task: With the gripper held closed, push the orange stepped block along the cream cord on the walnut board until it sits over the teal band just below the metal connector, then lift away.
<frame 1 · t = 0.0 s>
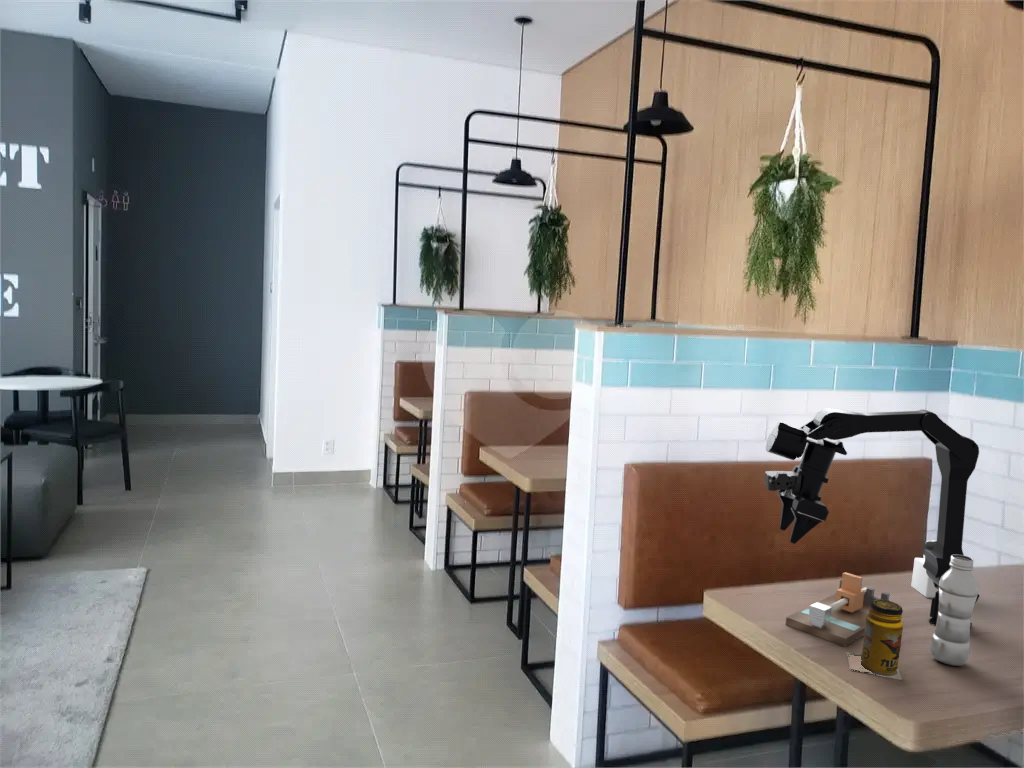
hand: (787, 536, 166), 15 cm above the table, tool pointing down, fingers open, 9 cm apart
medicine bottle: (933, 593, 183), on the table
plastic bottle: (948, 662, 147), on the table
cable comb: (863, 594, 170), on the cord board, point 3 cm above the table
condiment: (873, 667, 143), on the table
orange stepped block: (850, 591, 164), point 6 cm above the table, slide at 0.0 cm
cord: (845, 600, 163), point 3 cm above the table
connector: (819, 616, 155), on the cord board, point 4 cm above the table
cord board: (840, 620, 163), on the table
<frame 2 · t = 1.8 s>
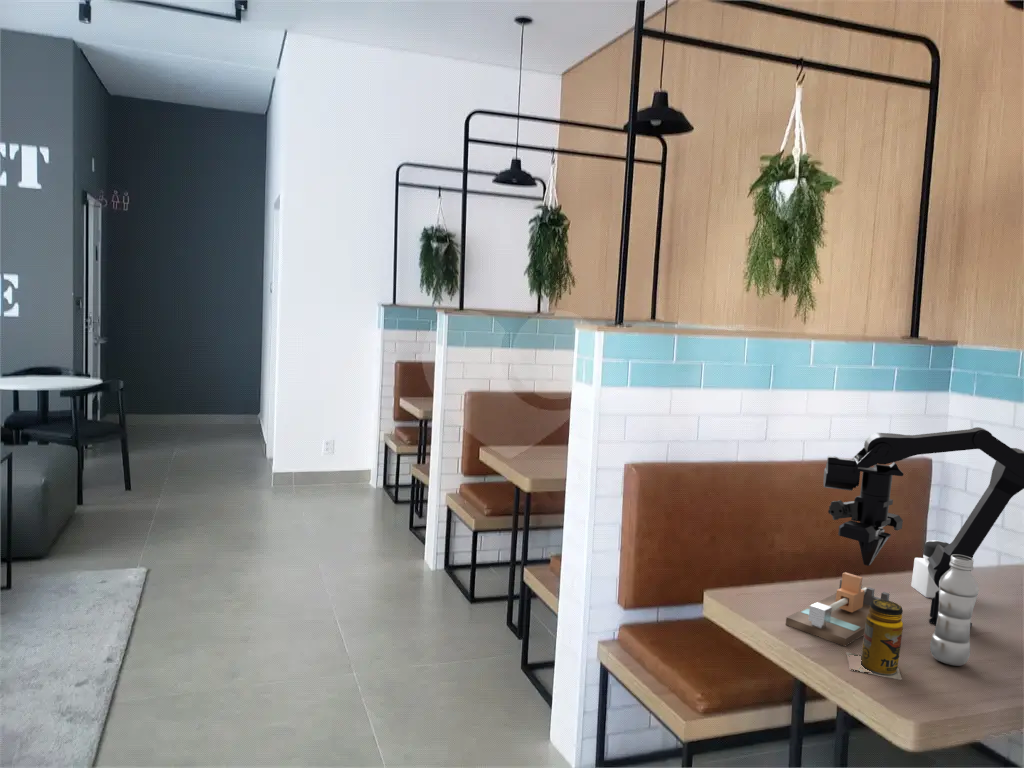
hand: (866, 565, 168), 10 cm above the table, tool pointing down, fingers closed
nothing on the table moved.
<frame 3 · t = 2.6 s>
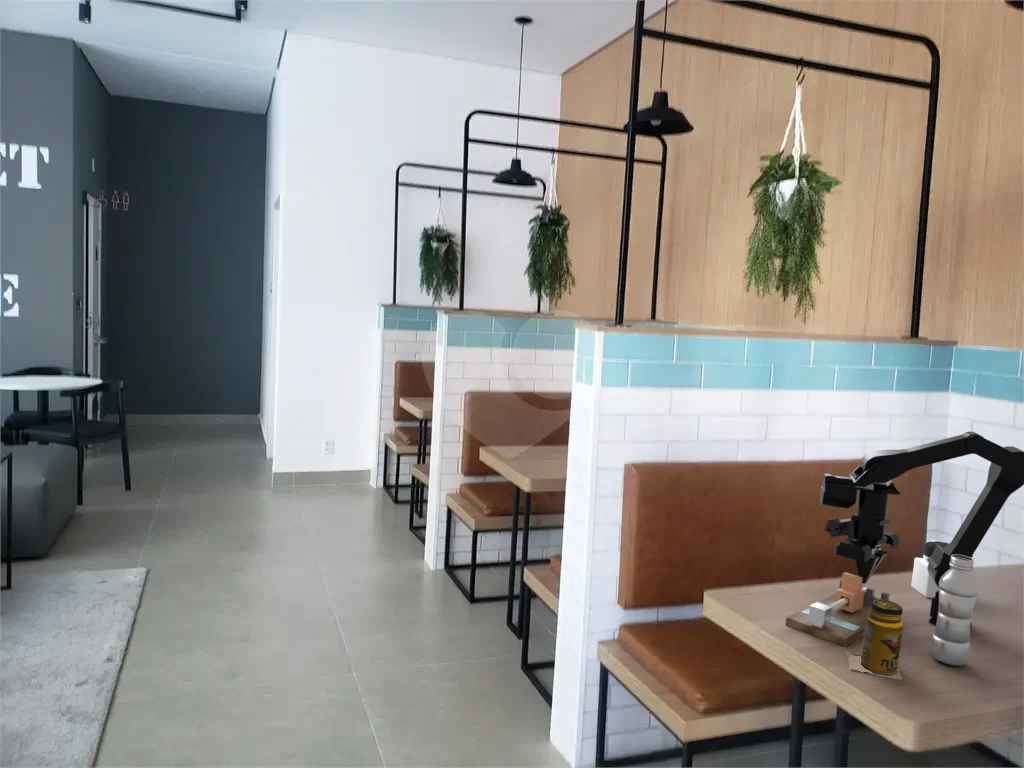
hand: (863, 583, 169), 6 cm above the table, tool pointing down, fingers closed
nothing on the table moved.
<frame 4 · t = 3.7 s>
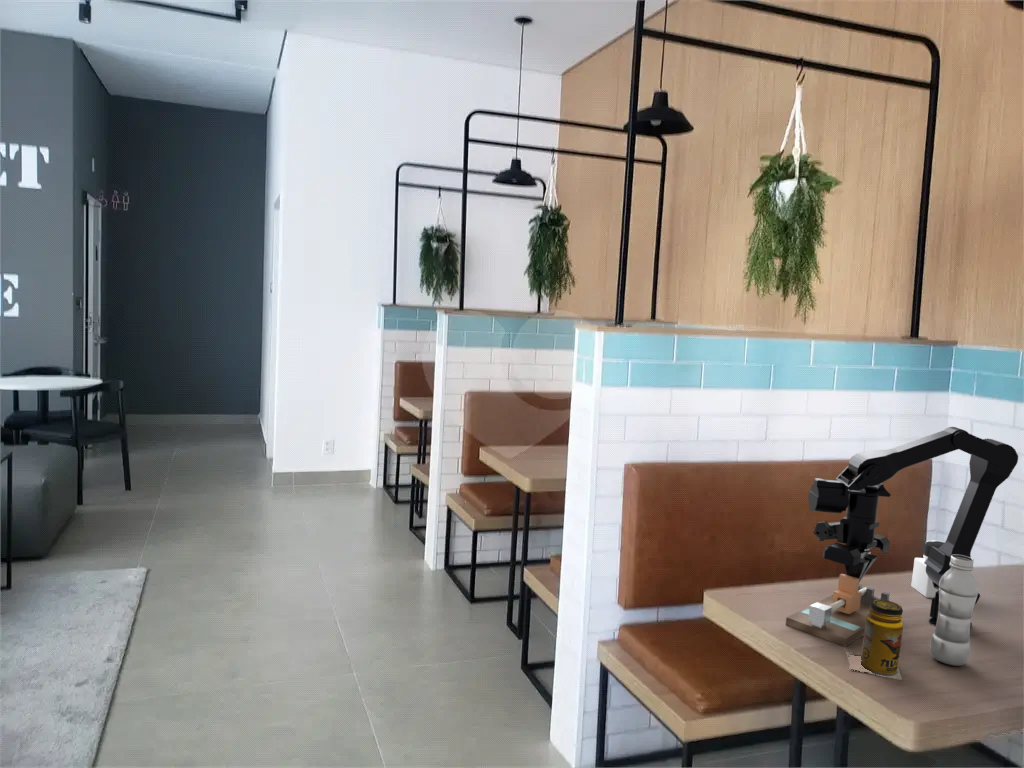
hand: (852, 587, 165), 6 cm above the table, tool pointing down, fingers closed
orange stepped block: (847, 592, 163), point 6 cm above the table, slide at 1.5 cm, touching gripper
everything else where it was.
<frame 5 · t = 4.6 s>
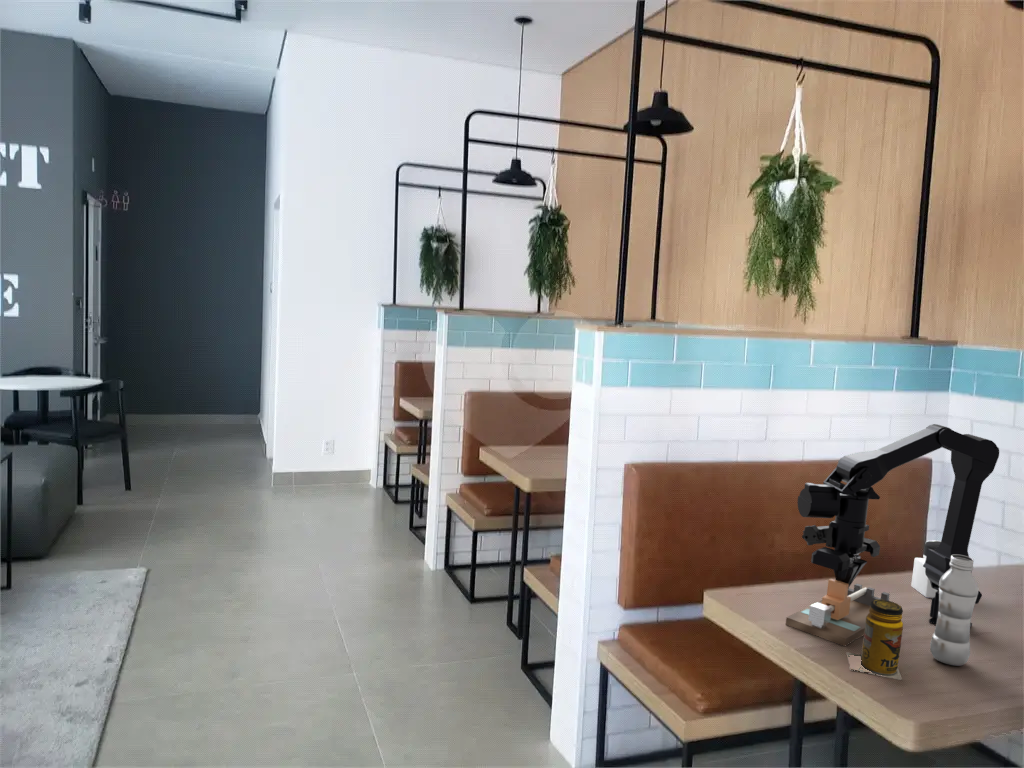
hand: (841, 593, 162), 6 cm above the table, tool pointing down, fingers closed
orange stepped block: (836, 598, 160), point 6 cm above the table, slide at 6.6 cm, touching gripper
everything else where it was.
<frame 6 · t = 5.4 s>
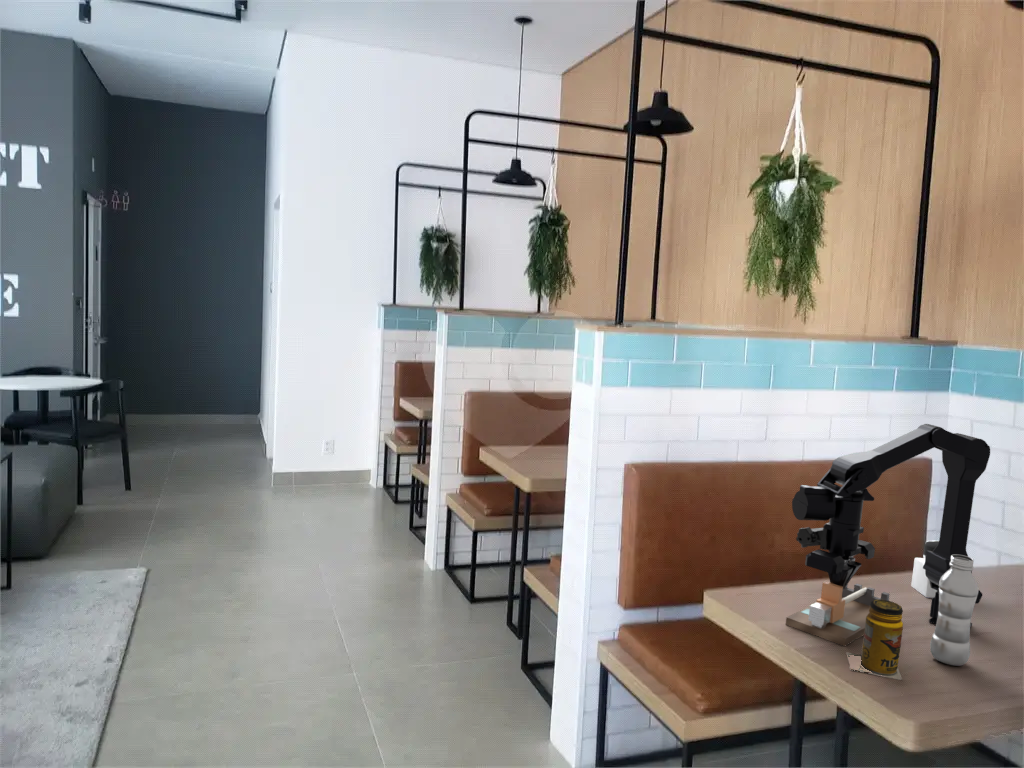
hand: (836, 595, 160), 6 cm above the table, tool pointing down, fingers closed
orange stepped block: (830, 600, 158), point 6 cm above the table, slide at 9.2 cm, touching gripper
everything else where it was.
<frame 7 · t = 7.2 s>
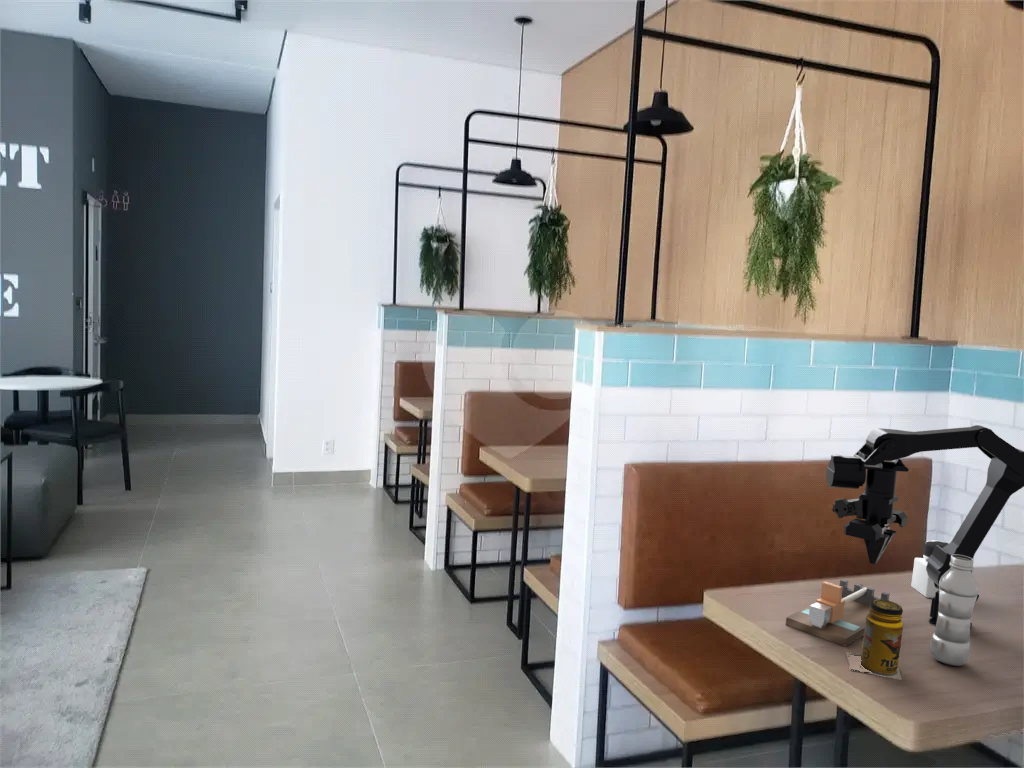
hand: (872, 563, 165), 11 cm above the table, tool pointing down, fingers closed
orange stepped block: (830, 601, 158), point 6 cm above the table, slide at 9.3 cm
everything else where it was.
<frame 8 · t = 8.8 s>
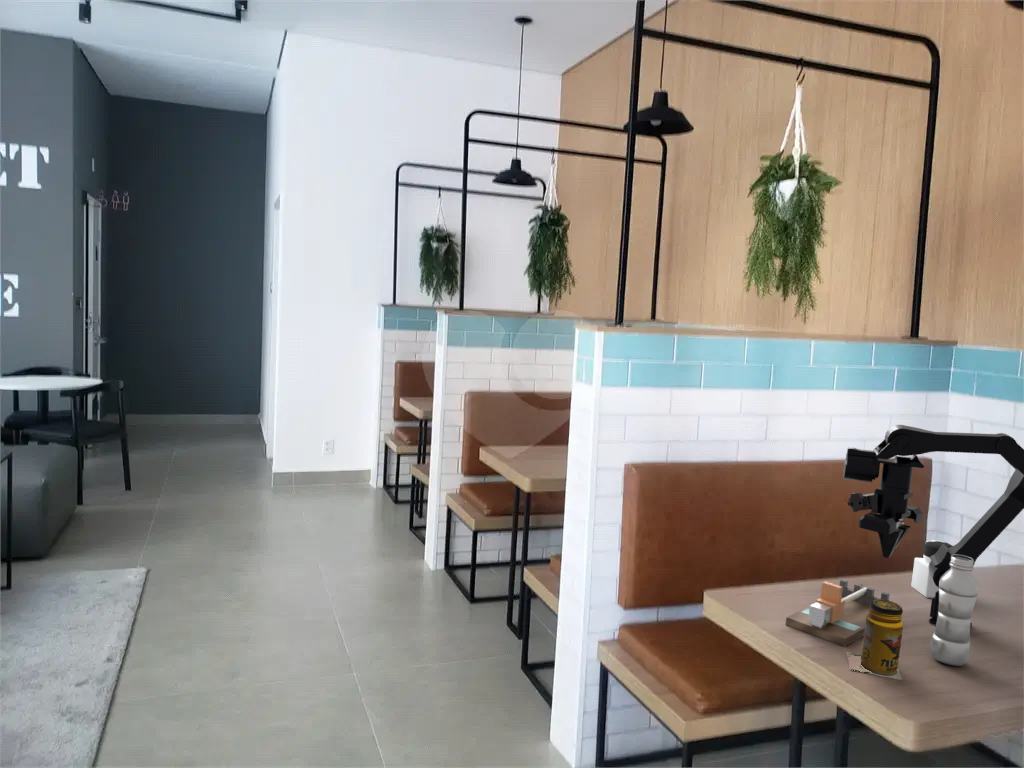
hand: (886, 557, 168), 12 cm above the table, tool pointing down, fingers closed
nothing on the table moved.
at the end: orange stepped block slide at 9.3 cm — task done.
